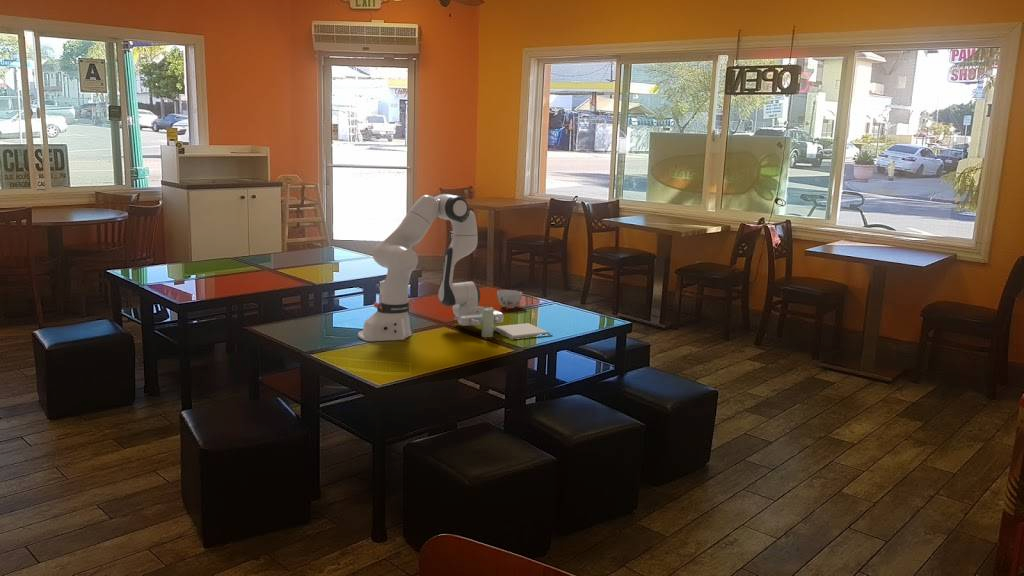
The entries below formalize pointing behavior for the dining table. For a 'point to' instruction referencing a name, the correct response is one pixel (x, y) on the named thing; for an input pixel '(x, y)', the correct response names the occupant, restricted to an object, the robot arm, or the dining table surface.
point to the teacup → (509, 297)
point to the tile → (519, 330)
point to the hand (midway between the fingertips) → (488, 322)
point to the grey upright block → (487, 322)
